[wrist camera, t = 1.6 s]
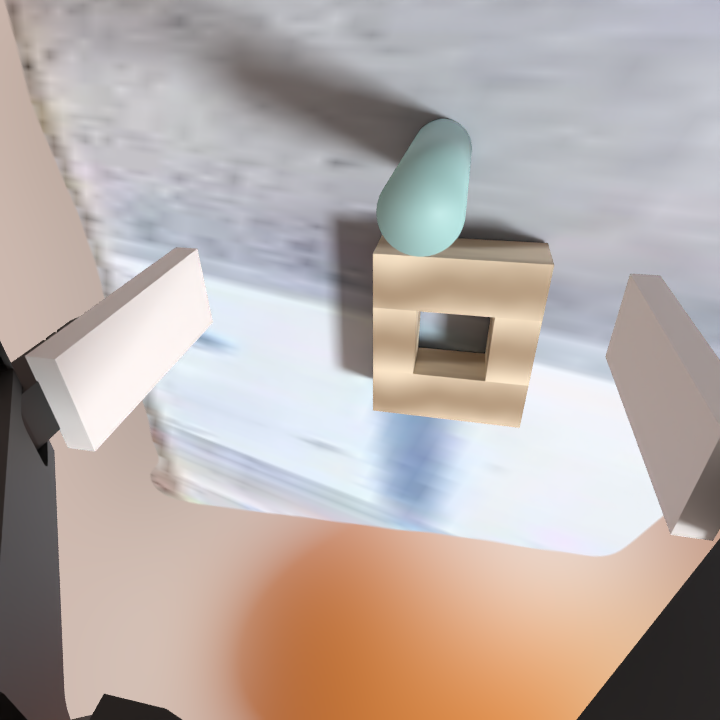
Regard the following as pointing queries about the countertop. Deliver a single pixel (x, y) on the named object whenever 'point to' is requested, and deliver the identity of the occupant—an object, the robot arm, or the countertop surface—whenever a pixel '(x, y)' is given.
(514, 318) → the socket block
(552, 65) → the countertop surface
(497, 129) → the countertop surface
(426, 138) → the dowel
